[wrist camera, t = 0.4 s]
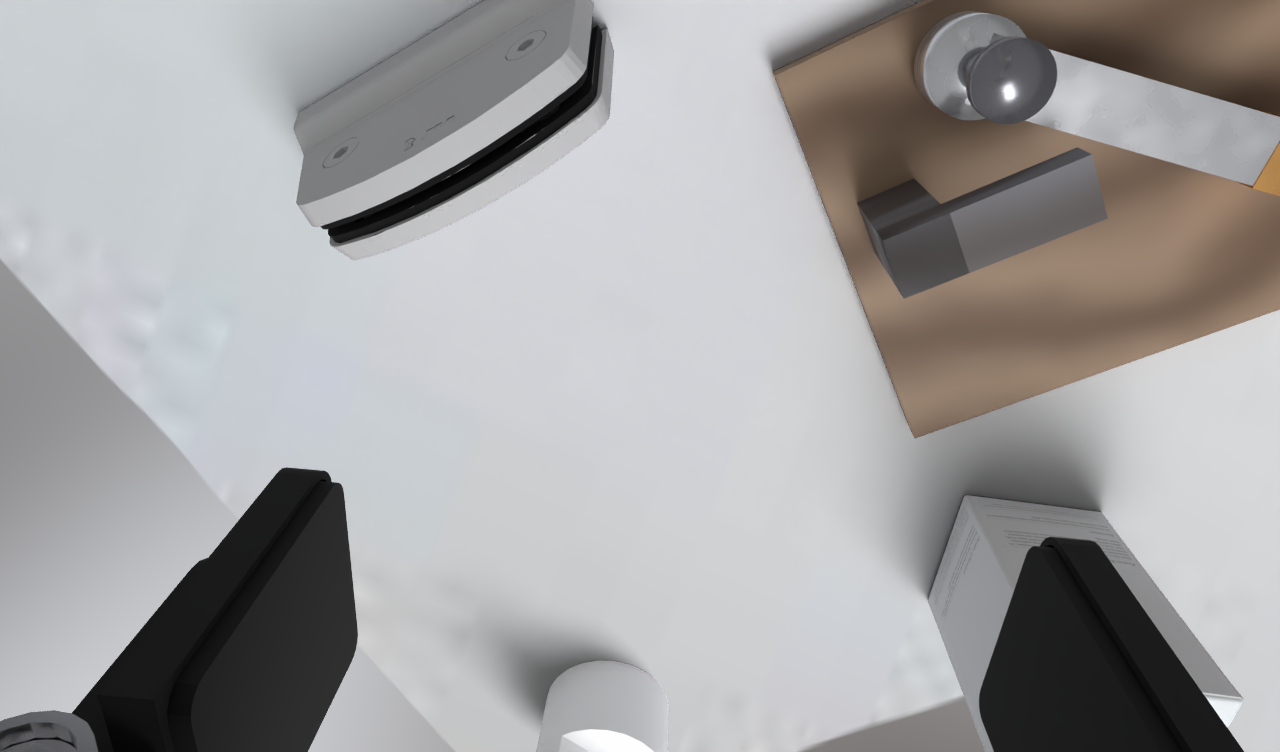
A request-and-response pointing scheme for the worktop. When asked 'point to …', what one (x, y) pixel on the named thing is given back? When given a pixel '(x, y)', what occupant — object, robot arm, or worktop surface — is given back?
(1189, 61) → the board
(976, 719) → the supplement box
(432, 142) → the grey electronic device
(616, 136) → the worktop surface
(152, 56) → the worktop surface
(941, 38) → the link
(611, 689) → the cylinder with rectangular tab
